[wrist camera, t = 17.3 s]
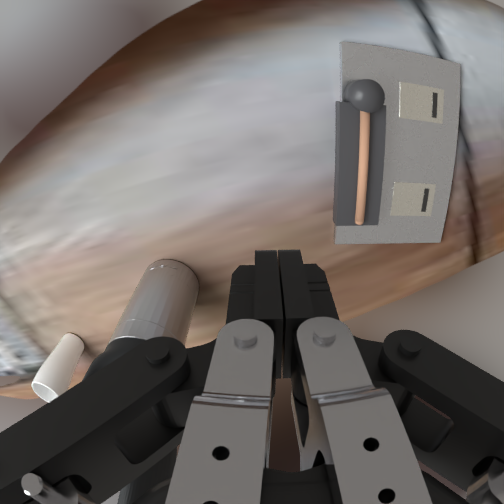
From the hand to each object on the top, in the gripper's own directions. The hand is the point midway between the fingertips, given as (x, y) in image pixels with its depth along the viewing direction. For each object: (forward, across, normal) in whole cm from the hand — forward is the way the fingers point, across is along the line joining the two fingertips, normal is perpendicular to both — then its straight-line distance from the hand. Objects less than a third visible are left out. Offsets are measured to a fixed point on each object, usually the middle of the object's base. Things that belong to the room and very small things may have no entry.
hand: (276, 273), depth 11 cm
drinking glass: (+32, +40, +37) cm, 63 cm away
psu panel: (+32, -19, +1) cm, 37 cm away
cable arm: (+31, -12, +1) cm, 33 cm away
